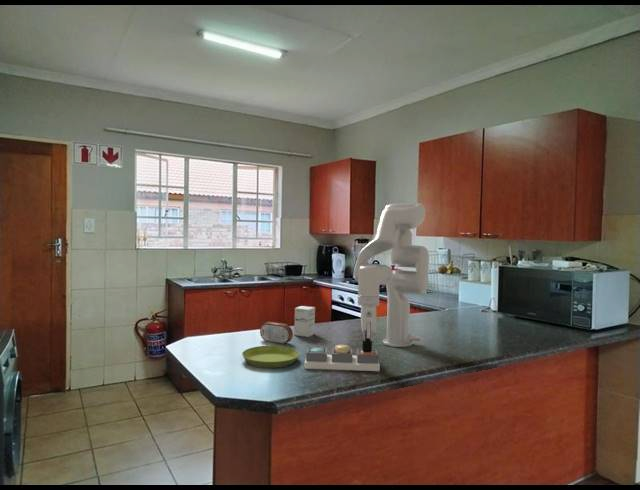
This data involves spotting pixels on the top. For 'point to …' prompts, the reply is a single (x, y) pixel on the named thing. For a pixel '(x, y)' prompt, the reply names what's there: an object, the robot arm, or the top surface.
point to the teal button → (317, 350)
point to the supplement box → (304, 321)
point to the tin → (276, 332)
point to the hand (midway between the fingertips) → (367, 351)
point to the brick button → (366, 352)
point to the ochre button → (342, 349)
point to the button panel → (342, 360)
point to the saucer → (270, 356)
